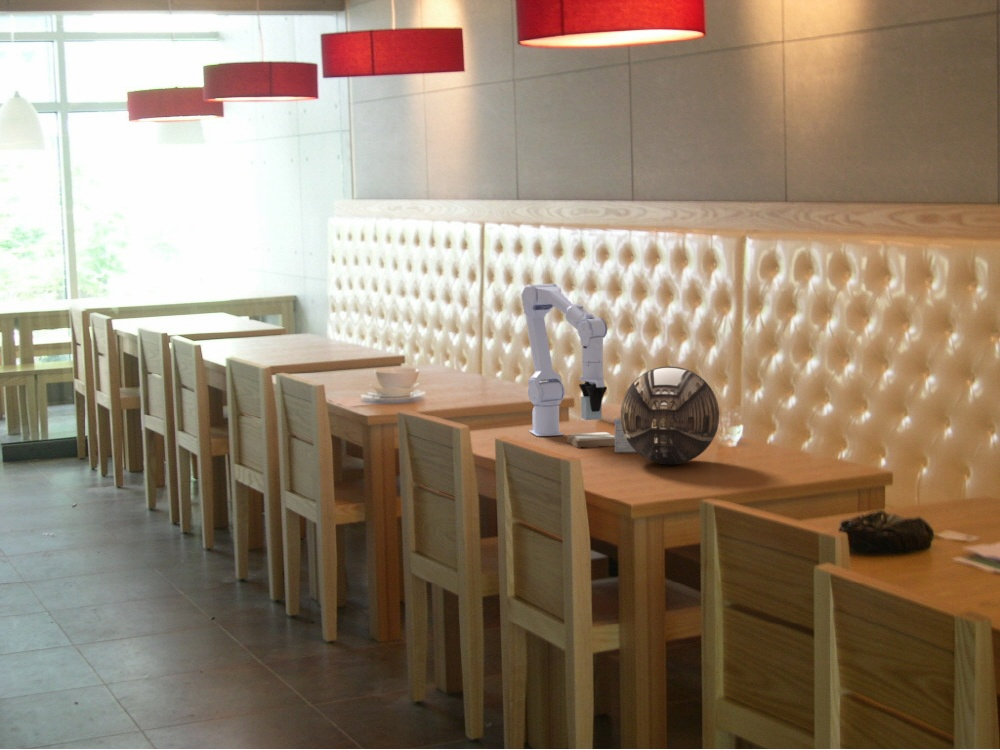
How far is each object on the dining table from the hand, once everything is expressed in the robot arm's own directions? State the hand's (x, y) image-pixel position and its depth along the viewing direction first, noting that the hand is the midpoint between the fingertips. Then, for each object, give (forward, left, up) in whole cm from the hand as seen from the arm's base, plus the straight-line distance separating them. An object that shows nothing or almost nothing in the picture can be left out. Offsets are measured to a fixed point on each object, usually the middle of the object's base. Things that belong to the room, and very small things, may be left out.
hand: (592, 410), depth 361 cm
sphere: (+34, +10, -10) cm, 37 cm away
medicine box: (+14, +6, -10) cm, 18 cm away
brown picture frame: (0, 0, -10) cm, 10 cm away
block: (0, 0, -2) cm, 2 cm away
